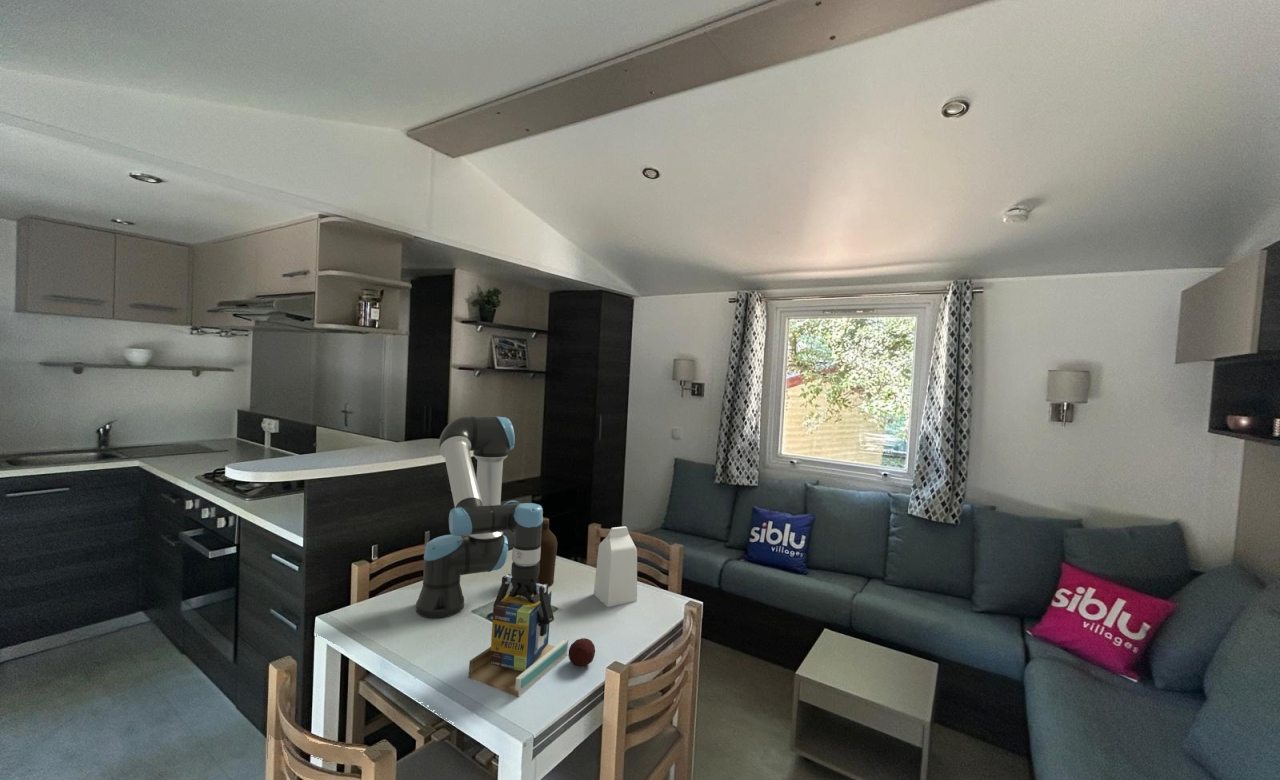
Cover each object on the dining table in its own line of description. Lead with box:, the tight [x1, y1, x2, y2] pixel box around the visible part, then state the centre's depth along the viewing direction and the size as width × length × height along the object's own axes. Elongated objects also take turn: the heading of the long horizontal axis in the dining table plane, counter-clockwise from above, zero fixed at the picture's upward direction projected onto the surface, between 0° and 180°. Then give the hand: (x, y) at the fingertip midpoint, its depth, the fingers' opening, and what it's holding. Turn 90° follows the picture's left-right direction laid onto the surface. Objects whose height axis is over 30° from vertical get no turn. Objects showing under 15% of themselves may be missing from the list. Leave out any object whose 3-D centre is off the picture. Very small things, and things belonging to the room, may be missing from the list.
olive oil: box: [538, 517, 558, 588], centre depth 194 cm, size 11×11×25 cm
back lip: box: [468, 646, 491, 678], centre depth 141 cm, size 1×22×4 cm, turn 156°
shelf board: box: [467, 643, 556, 698], centre depth 138 cm, size 16×22×2 cm
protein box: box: [490, 589, 552, 671], centre depth 138 cm, size 10×15×16 cm
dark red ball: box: [567, 637, 596, 668], centre depth 141 cm, size 7×8×7 cm
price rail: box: [515, 638, 569, 698], centre depth 135 cm, size 1×22×4 cm, turn 155°
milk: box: [593, 526, 638, 608], centre depth 186 cm, size 12×12×26 cm
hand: (521, 640), depth 138 cm, fingers closed on protein box, 11 cm apart
